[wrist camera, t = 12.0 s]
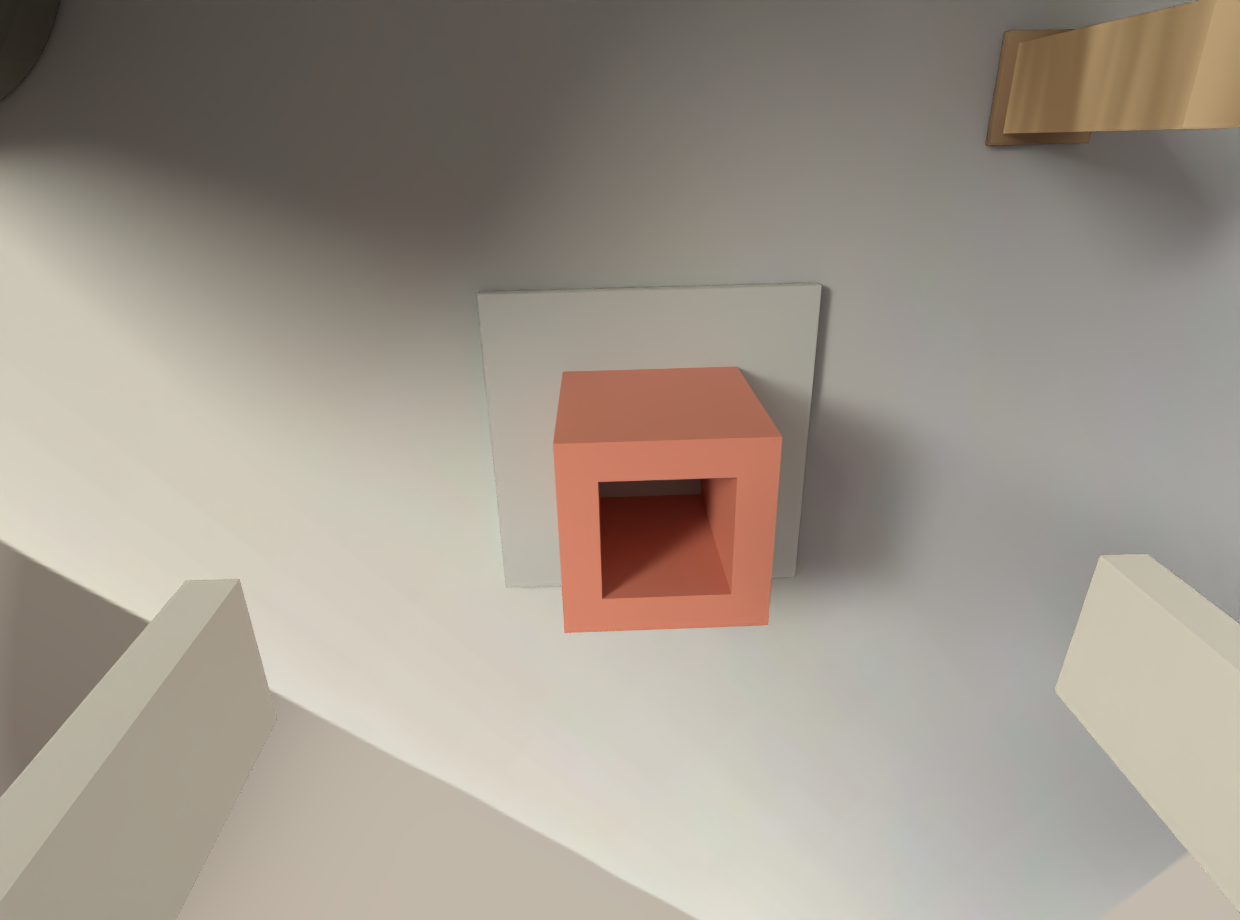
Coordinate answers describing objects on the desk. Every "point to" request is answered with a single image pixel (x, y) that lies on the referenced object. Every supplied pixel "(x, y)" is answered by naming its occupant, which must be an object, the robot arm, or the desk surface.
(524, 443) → the coaster
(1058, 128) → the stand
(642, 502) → the salmon square sleeve
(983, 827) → the desk surface
